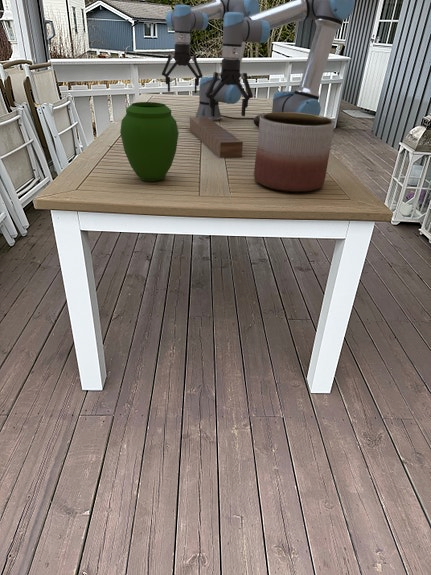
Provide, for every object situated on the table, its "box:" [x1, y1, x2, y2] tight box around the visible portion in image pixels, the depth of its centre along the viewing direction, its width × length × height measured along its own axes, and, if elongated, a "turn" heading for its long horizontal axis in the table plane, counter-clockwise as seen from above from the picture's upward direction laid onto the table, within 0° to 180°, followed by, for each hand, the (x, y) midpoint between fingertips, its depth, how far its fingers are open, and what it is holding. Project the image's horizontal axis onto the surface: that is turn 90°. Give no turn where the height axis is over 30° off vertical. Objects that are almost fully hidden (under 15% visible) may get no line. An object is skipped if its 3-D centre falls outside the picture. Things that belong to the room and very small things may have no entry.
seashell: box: [252, 112, 266, 128], centre depth 231 cm, size 10×6×8 cm, turn 97°
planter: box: [253, 111, 336, 193], centre depth 143 cm, size 25×25×22 cm
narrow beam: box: [189, 116, 244, 159], centre depth 197 cm, size 57×10×6 cm, turn 16°
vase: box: [119, 101, 179, 182], centre depth 140 cm, size 20×20×24 cm
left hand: (182, 92), depth 208 cm, fingers open, 13 cm apart
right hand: (228, 116), depth 174 cm, fingers open, 13 cm apart
